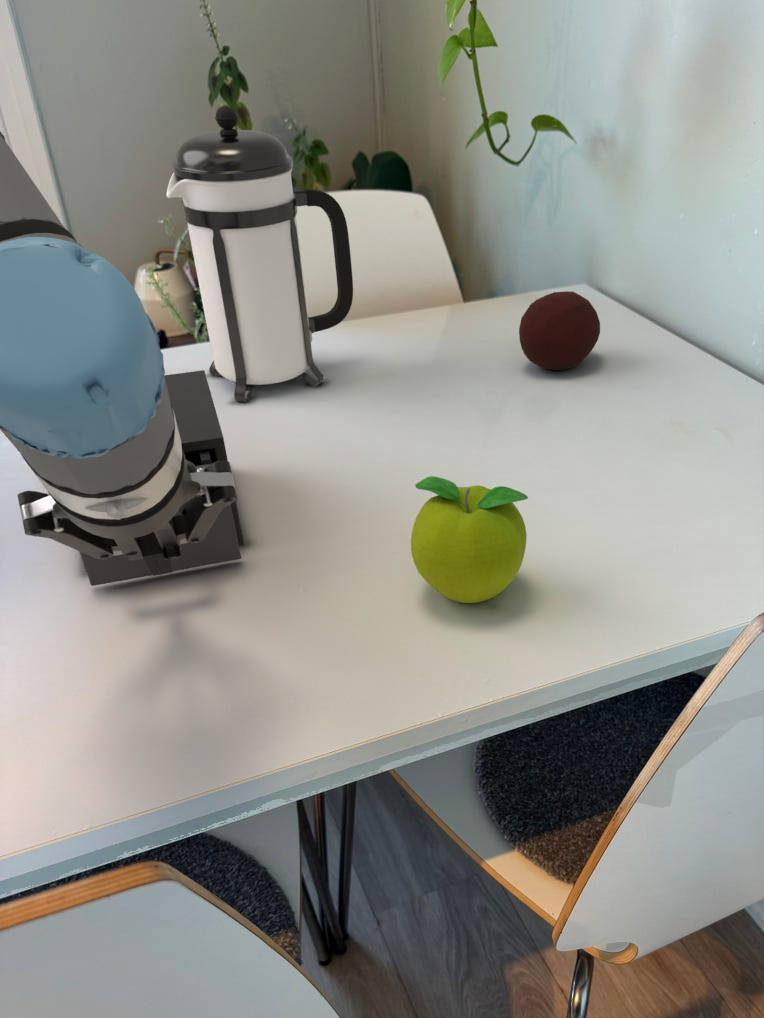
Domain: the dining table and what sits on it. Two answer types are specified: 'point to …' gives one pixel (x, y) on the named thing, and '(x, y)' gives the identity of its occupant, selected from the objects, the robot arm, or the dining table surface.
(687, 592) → the dining table surface
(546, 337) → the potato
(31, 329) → the robot arm
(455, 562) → the fruit
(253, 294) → the coffee press
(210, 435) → the small grey cabinet
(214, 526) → the drawer
